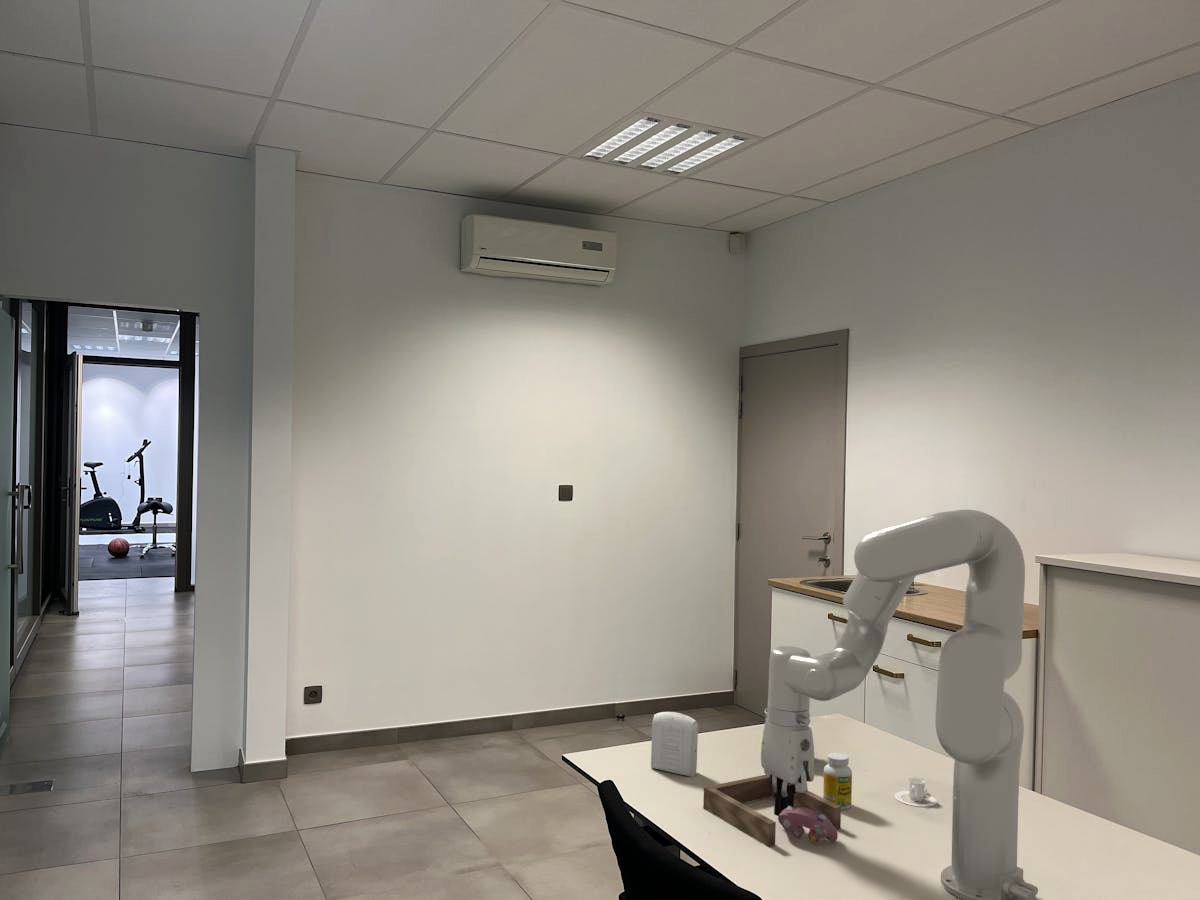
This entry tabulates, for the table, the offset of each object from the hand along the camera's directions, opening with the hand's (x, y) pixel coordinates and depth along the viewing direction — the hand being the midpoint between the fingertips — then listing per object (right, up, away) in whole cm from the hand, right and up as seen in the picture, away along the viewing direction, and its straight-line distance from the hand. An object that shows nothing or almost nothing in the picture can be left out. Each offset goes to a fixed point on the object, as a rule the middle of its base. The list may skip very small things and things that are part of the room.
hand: (783, 815), depth 165 cm
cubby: (-2, -2, +4) cm, 4 cm away
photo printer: (-18, -2, +28) cm, 33 cm away
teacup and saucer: (+32, -4, +15) cm, 36 cm away
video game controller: (+3, -2, -5) cm, 7 cm away
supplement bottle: (+13, -3, +11) cm, 17 cm away
